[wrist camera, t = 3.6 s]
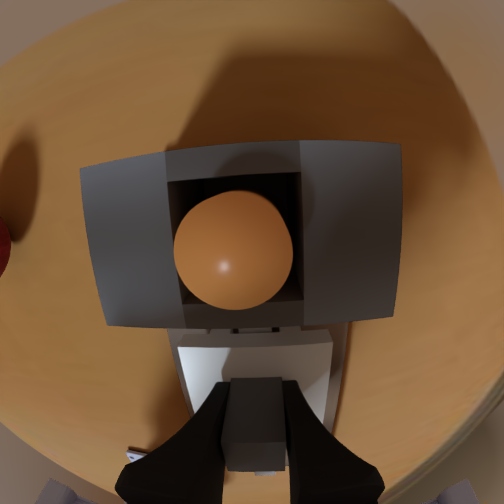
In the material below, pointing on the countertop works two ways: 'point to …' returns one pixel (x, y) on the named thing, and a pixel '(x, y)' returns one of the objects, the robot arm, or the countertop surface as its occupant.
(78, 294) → the countertop surface
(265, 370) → the carriage
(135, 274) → the rail bed
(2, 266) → the onion
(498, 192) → the countertop surface
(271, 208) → the brown egg
